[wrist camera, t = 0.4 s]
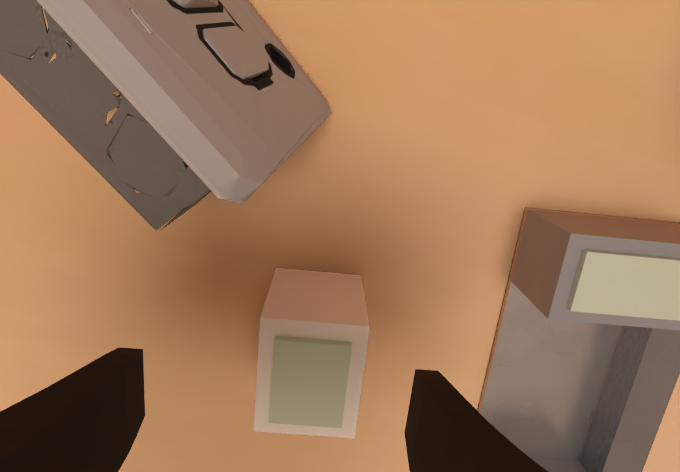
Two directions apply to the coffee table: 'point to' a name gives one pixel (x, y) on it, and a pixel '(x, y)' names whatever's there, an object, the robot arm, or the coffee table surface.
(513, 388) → the rail
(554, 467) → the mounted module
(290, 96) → the electrical switch
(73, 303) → the coffee table surface
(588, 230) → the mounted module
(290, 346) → the block
